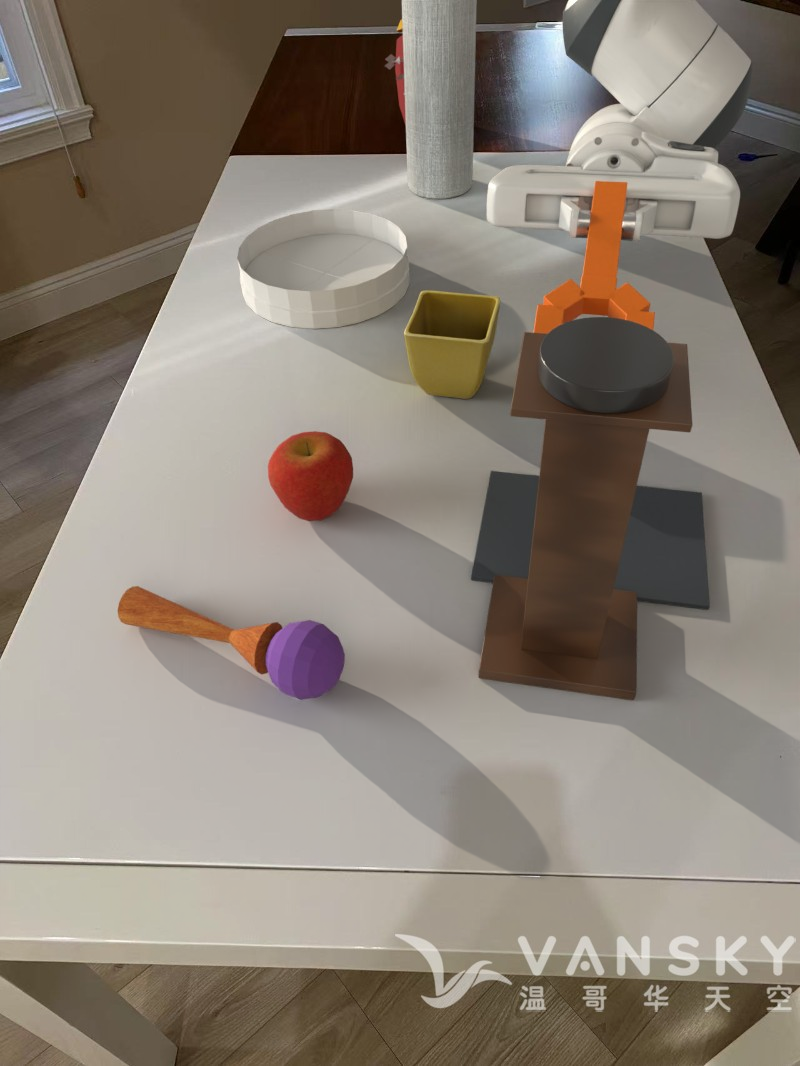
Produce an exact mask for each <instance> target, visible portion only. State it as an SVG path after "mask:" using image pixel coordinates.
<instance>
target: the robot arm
mask: <svg viewBox="0 0 800 1066" xmlns="http://www.w3.org/2000/svg"><path fill="white" fill-rule="evenodd" d="M562 37H563V45H564V46H563V47H564V50H565V55H566V56H567V57H568V58H569V59H570V60H571V61H572V62H574V64H576V65H577V66H579V67H580V68H581V69H582V70H584V72H586V73H587V74H588V75H589V76H591V77H592V76H593V77H594V78H595V79H596V80H597V81H598V82H599V83H600V84H601V85H602V86H603V87H604V88H605V89H606V90H607V91H608V92H609V93H610V94H611V95H612V97H614V98H615V99H616V100H617V102H619V103H615V104H609V105H607V106H605V107H603V108H601V109H599V110H597V111H596V112H595V113H594V114H592V115H591V116H590V117H589V118H588V119H587V120H586V121H585V122H584V124H582V126H581V127H580V129H579V130H578V131H577V133H576V134H575V137H574V139H573V140H572V144H571V146H570V149H569V151H568V156H567V160H566V162H565V165H547V164H546V165H545V164H515V165H509V166H506V167H505V168H503V169H502V170H500V171H499V172H497V173H496V174H495V175H493V177H492V178H491V180H490V181H488V185H487V193H486V194H487V195H486V222H488V223H489V224H490V225H492V226H494V227H496V228H510V229H511V228H513V229H532V230H548V231H549V230H550V231H565V232H568V233H569V238H570V239H588V231H589V226H590V220H591V209H592V202H593V194H594V187H595V181H607V182H627V192H626V200H625V209H624V216H623V223H622V235H621V241H623V242H625V241H626V242H640V239H641V236H661V237H662V236H664V237H682V238H700V239H702V238H703V239H715V240H716V239H717V240H719V239H724V238H728V237H730V236H731V235H732V234H733V232H734V228H735V224H736V220H737V217H738V216H737V215H738V211H739V206H740V201H741V200H740V199H741V190H740V187H739V184H738V182H737V180H736V178H735V176H734V175H733V173H732V172H731V170H729V169H728V167H726V166H725V165H722V164H721V163H719V151H718V150H717V149H716V148H717V147H718V146H719V145H720V144H721V143H722V141H723V140H724V139H725V138H726V137H727V136H728V135H729V133H730V132H732V130H733V129H734V127H735V126H736V124H737V123H738V121H739V119H740V118H741V117H742V115H743V113H744V111H745V109H746V107H747V104H748V102H749V97H750V93H751V89H752V83H753V77H754V63H753V60H752V59H750V57H749V56H748V55H747V53H745V51H744V50H743V49H742V48H741V47H740V46H739V44H738V43H736V41H735V40H734V39H733V38H732V37H731V36H730V35H729V34H728V33H727V31H726V30H724V29H723V28H722V26H721V25H720V24H719V23H717V22H716V20H714V19H713V18H712V17H711V15H710V14H709V13H708V12H707V11H706V10H705V9H704V8H703V6H702V5H700V4H699V2H698V1H697V0H568V1H567V2H566V5H565V7H564V9H563V11H562Z"/></svg>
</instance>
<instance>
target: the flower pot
mask: <svg viewBox="0 0 800 1066" xmlns="http://www.w3.org/2000/svg"><path fill="white" fill-rule="evenodd" d="M501 301H502V300H501V297H500V296H496V295H485V294H474V293H461V292H450V291H441V290H422V291H420V293H419V295H418V298H417V300H416V303H415V305H414V308H413V312H412V314H411V316H410V317H409V320H408V323H407V325H406V327H405V329H404V332H403V337H404V342H405V347H406V352H407V353H406V354H407V359H408V365H409V369H410V372H411V375H412V377H413V379H414V381H415V382H416V384H417V385H418V387H419V388H420V389H421V390H422V391H423V392H424V393H425V394H427V395H429V396H436V397H437V396H438V397H447V398H455V399H461V400H462V399H464V400H470V399H472V398H473V397H474V396H475V394H476V393H478V391H479V390H480V387H481V386H482V383H483V380H484V377H485V373H486V370H487V369H486V368H487V366H488V361H489V357H490V354H491V351H492V347H493V345H494V341H495V336H496V331H497V326H498V319H499V313H500V308H501Z"/></svg>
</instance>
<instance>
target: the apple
mask: <svg viewBox="0 0 800 1066" xmlns="http://www.w3.org/2000/svg"><path fill="white" fill-rule="evenodd" d="M353 465H354V464H353V458H352V455H351V453H350V451H349V450H348V449H347V446H345V444H344V443H343V442H342V440H340V439H339V438H337V437H336V436H334V435H332V434H331V433H328V432H326V431H317V430H316V431H315V430H314V431H313V430H312V431H304V432H299V433H296V434H292V435H291V436H289V437H288V438H287V439H285V440H284V441H282V442H281V443H280V444H278V445H277V447H276V448H275V450H274V451H273V453H272V454H271V456H270V458H269V460H268V464H267V471H268V472H267V474H268V477H267V478H268V480H269V485H270V487H271V489H272V490H273V492H274V493H275V495H276V496H277V498H278V499H279V501H280V503H281V504H282V506H283V507H284V508H285V509H286V510H288V512H290V513H291V514H292V515H294V516H295V517H296V518H298V519H300V520H304V521H307V522H318V521H322V520H325V519H327V518H329V517H331V516H332V515H333V514H335V513H336V512H337V511H338V510H339V509H340V507H341V506H342V505H343V503H344V502H345V499H346V497H347V495H348V493H349V491H350V488H351V485H352V482H353V479H354V466H353Z"/></svg>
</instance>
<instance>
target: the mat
mask: <svg viewBox="0 0 800 1066" xmlns="http://www.w3.org/2000/svg"><path fill="white" fill-rule="evenodd" d="M538 484H539V475H538V474H537V475H536V474H525V473H516V472H508V471H507V472H505V471H498V470H491V471H490V475H489V479H488V485H487V490H486V496H485V500H484V506H483V512H482V518H481V523H480V527H479V533H478V538H477V542H476V543H477V544H476V548H475V553H474V560H473V565H472V570H471V575H470V580H471V581H475V582H482V583H483V582H484V583H490V584H491V583H492V584H493V580H494V575H502V576H510V577H518V578H526V579H528V576H529V567H530V558H531V549H532V539H533V530H534V521H535V512H536V503H537V493H538ZM704 517H705V516H704V505H703V493H702V491H693V490H684V489H683V490H681V489H674V488H673V489H672V488H661V487H652V486H643V485H637V487H636V491H635V495H634V500H633V504H632V509H631V513H630V518H629V522H628V526H627V531H626V535H625V540H624V544H623V549H622V553H621V557H620V562H619V566H618V571H617V575H616V580H615V584H614V589H615V590H623V591H631V592H637V602H642V603H643V602H644V603H650V604H651V603H652V604H659V605H666V606H675V607H683V608H690V609H700V610H706V611H708V610H710V607H711V604H710V603H711V602H710V589H709V577H708V575H709V574H708V561H707V559H708V558H707V548H706V547H707V546H706V534H705V533H706V532H705V518H704Z"/></svg>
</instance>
